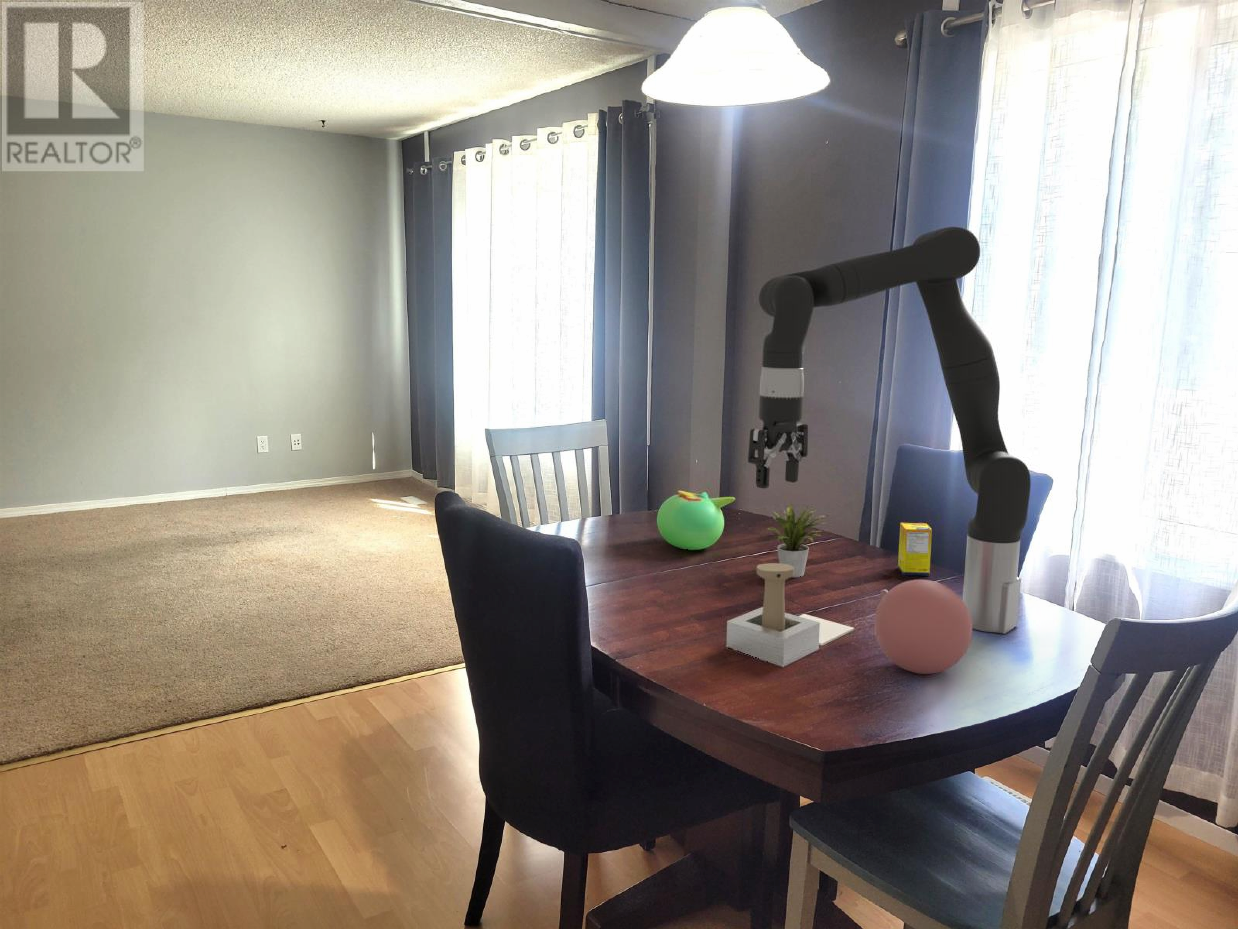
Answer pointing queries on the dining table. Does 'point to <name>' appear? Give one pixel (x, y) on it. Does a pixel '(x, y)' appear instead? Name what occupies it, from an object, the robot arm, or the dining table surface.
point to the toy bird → (692, 520)
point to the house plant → (795, 539)
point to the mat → (828, 629)
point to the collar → (773, 638)
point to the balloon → (922, 626)
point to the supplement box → (914, 549)
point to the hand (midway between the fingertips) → (777, 484)
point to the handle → (774, 593)
